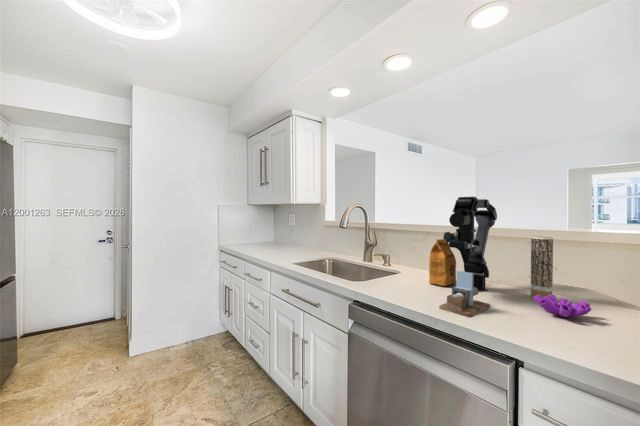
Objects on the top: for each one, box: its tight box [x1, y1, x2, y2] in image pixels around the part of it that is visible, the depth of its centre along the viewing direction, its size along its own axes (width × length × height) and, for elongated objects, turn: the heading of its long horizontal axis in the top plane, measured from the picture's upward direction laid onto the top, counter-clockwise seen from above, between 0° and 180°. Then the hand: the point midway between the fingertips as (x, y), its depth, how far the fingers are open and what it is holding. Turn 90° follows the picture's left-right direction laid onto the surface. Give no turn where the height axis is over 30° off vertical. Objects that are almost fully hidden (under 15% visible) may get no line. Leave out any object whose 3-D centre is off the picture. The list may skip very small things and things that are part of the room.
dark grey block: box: [451, 286, 470, 307], centre depth 97 cm, size 2×5×5 cm, turn 38°
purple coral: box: [532, 294, 592, 318], centre depth 92 cm, size 11×15×10 cm
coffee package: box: [428, 238, 457, 287], centre depth 131 cm, size 10×12×22 cm
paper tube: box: [530, 235, 554, 299], centre depth 109 cm, size 7×7×25 cm
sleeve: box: [455, 270, 474, 306], centre depth 98 cm, size 3×5×11 cm, turn 38°
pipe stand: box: [438, 287, 490, 318], centre depth 99 cm, size 17×10×6 cm, turn 128°
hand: (465, 263), depth 114 cm, fingers closed
